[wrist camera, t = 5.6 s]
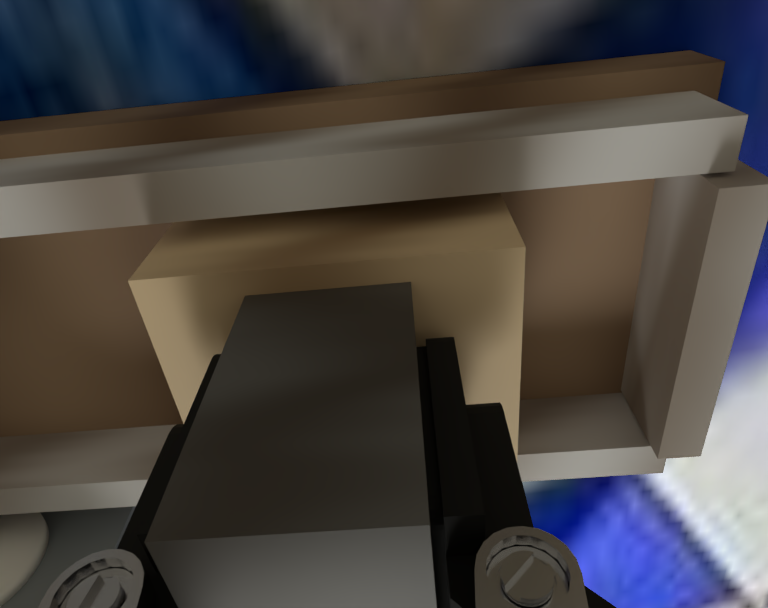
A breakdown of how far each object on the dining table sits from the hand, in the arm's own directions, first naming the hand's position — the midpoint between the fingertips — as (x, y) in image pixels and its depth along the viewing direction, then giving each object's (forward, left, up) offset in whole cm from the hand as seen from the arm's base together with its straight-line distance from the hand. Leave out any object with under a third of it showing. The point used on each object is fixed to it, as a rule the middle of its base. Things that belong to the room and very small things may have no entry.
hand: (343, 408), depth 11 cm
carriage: (0, 0, -3) cm, 3 cm away
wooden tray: (+3, 0, -5) cm, 6 cm away
